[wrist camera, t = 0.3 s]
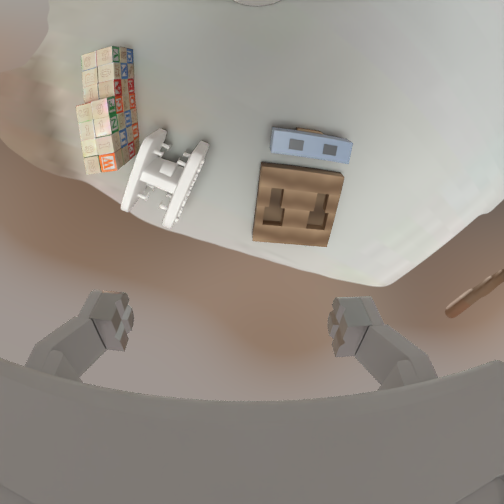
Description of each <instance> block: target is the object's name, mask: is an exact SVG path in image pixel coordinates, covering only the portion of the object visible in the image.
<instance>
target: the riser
mask: <svg viewBox="0 0 504 504" xmlns="http://www.w3.org/2000/svg"><path fill="white" fill-rule="evenodd" d="M296 130H298V131H305V132H311V133H317V134H323V133H322V132H320V131H316V130H310V129H304V128H297V127H296Z"/></svg>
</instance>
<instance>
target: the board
mask: <svg viewBox="0 0 504 504" xmlns="http://www.w3.org/2000/svg"><path fill="white" fill-rule="evenodd" d="M343 181H344V176H343V175H342V174H341V173H340V172H334V171H328V170H321V169H315V168H307V167H300V166H292V165H284V164H275V163H266V162H261V167H260V176H259V184H258V192H257V200H256V208H255V217H254V225H253V233H252V235H253V241H259V242H271V243H284V244H296V245H308V246H320V247H327V244H328V240H329V237H330V233H331V229H332V226H333V222H334V218H335V214H336V210H337V206H338V202H339V198H340V194H341V190H342V186H343Z"/></svg>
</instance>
